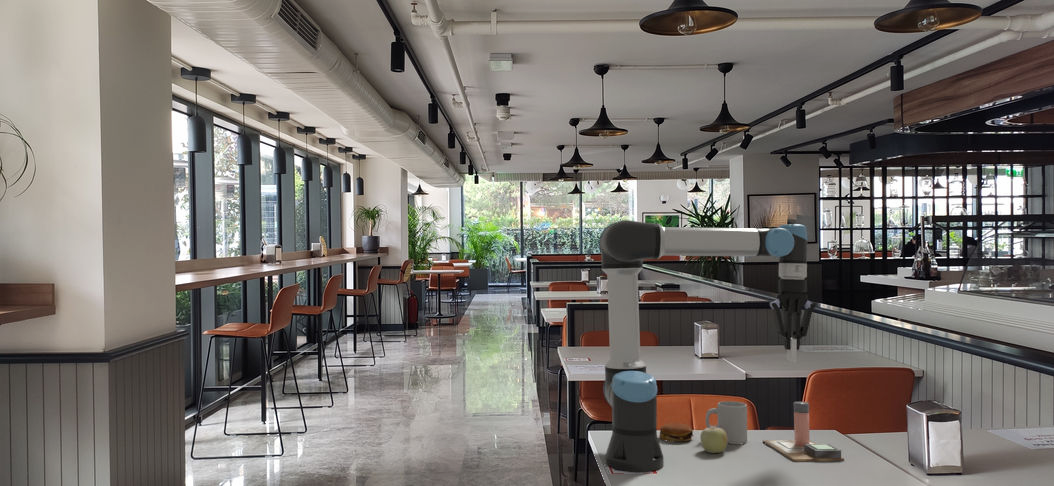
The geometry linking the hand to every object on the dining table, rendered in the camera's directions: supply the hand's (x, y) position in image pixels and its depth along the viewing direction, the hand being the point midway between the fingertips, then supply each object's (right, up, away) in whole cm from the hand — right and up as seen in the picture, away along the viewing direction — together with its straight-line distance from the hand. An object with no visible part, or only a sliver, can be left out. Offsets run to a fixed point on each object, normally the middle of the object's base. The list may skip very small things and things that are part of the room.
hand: (791, 361), depth 201 cm
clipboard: (+2, -25, -2) cm, 25 cm away
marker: (+4, -24, +2) cm, 25 cm away
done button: (+6, -24, -8) cm, 26 cm away
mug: (-16, -26, +10) cm, 32 cm away
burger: (-30, -26, +12) cm, 42 cm away
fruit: (-23, -25, -3) cm, 34 cm away
